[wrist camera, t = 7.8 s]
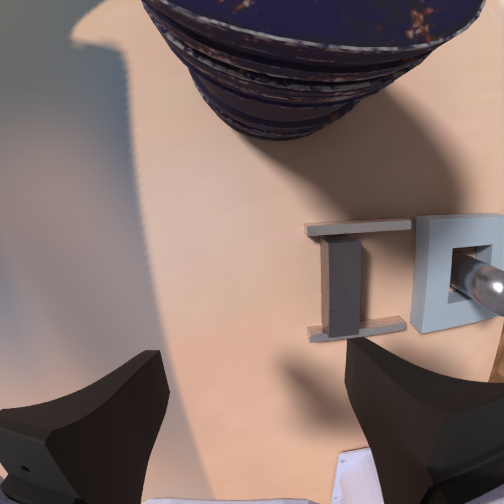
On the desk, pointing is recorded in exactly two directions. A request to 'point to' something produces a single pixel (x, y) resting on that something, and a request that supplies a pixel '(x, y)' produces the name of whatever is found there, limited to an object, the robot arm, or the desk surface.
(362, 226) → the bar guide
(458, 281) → the lock pin
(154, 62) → the desk surface
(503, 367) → the mount block
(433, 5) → the storage jar
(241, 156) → the desk surface
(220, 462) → the desk surface
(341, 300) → the bar
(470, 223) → the socket block
